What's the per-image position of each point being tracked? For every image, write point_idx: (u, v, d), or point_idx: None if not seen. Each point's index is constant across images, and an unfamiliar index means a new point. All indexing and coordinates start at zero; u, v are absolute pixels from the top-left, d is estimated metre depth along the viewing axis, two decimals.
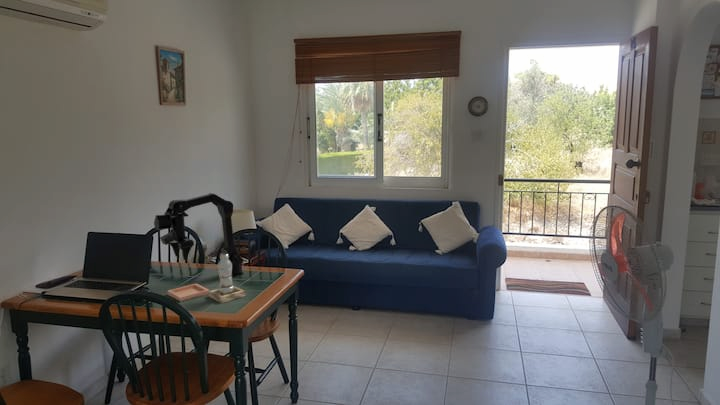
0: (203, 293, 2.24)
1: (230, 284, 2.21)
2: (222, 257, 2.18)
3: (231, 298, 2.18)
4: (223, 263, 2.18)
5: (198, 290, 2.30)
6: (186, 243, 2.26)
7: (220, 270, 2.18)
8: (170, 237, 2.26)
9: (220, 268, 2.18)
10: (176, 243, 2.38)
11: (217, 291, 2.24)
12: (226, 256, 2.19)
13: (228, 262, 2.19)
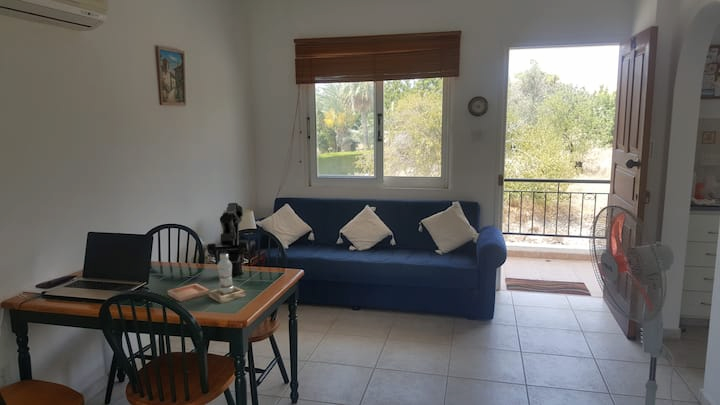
0: (203, 293, 2.24)
1: (230, 284, 2.21)
2: (222, 257, 2.18)
3: (231, 298, 2.18)
4: (223, 263, 2.18)
5: (198, 290, 2.30)
6: (247, 244, 2.34)
7: (220, 270, 2.18)
8: (235, 234, 2.31)
9: (220, 268, 2.18)
10: (216, 252, 2.32)
11: (217, 291, 2.24)
12: (226, 256, 2.19)
13: (228, 262, 2.19)
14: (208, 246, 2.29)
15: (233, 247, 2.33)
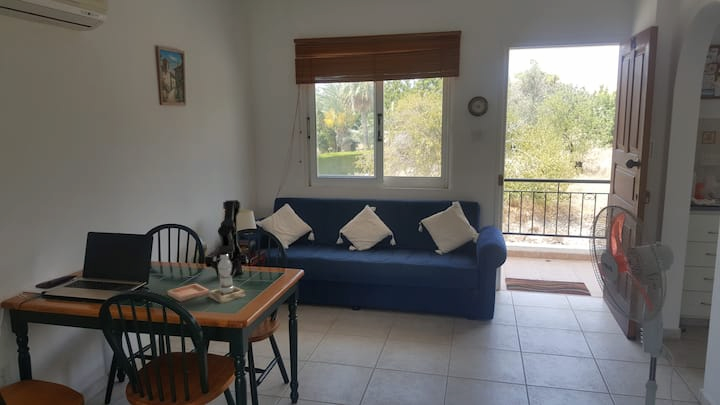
0: (203, 293, 2.24)
1: (230, 284, 2.21)
2: (222, 257, 2.18)
3: (231, 298, 2.18)
4: (223, 263, 2.18)
5: (198, 290, 2.30)
6: (246, 257, 2.26)
7: (220, 270, 2.18)
8: (234, 247, 2.23)
9: (220, 268, 2.18)
10: None
11: (217, 291, 2.24)
12: (226, 256, 2.19)
13: (228, 262, 2.19)
14: (206, 259, 2.21)
15: (231, 260, 2.25)
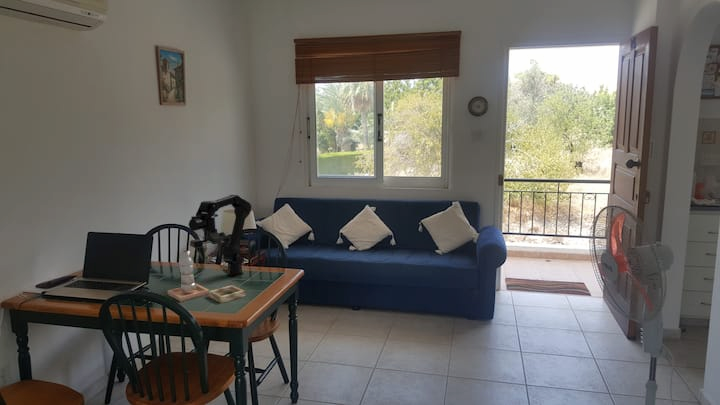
0: (203, 293, 2.24)
1: (188, 282, 2.24)
2: (181, 254, 2.23)
3: (231, 298, 2.18)
4: (181, 260, 2.22)
5: (198, 290, 2.30)
6: None
7: (179, 266, 2.23)
8: None
9: (179, 264, 2.23)
10: None
11: (217, 291, 2.24)
12: (185, 254, 2.22)
13: (186, 260, 2.22)
14: (196, 246, 2.32)
15: None
